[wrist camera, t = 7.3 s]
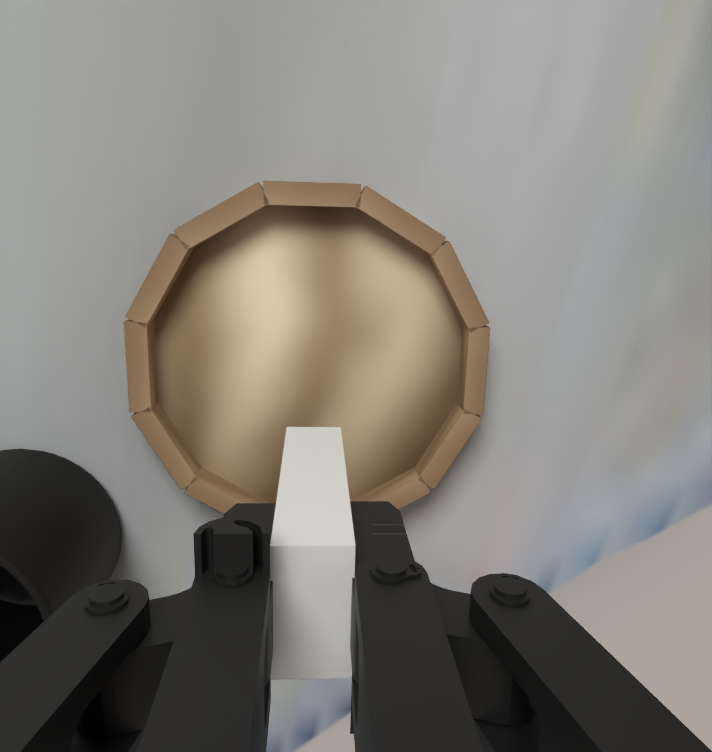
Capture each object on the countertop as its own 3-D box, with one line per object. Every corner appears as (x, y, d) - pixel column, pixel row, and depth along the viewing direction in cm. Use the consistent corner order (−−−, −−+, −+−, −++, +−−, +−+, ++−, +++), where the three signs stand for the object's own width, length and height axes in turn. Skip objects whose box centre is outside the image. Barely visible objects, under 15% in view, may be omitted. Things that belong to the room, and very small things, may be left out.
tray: (148, 514, 33) (136, 534, 31) (129, 179, 29) (114, 176, 27) (463, 512, 34) (473, 532, 32) (487, 190, 30) (501, 188, 28)
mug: (1, 667, 35) (-103, 817, 26) (-94, 474, 32) (-248, 570, 23) (164, 621, 35) (115, 755, 26) (85, 424, 32) (-2, 501, 23)
